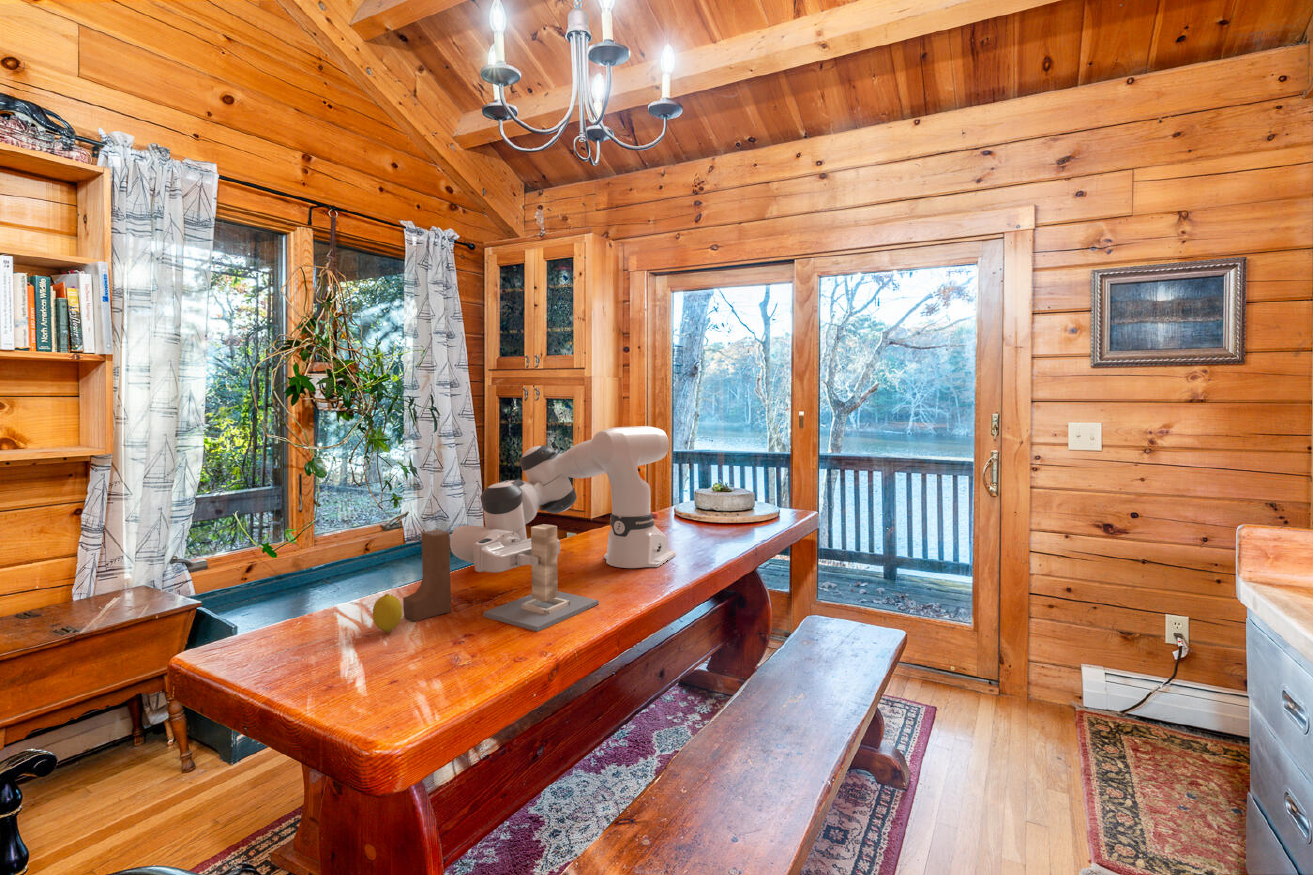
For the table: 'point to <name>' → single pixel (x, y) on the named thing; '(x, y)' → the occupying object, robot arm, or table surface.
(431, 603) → the brown boot
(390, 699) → the table surface
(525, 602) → the base board
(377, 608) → the lemon
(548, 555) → the birch column
